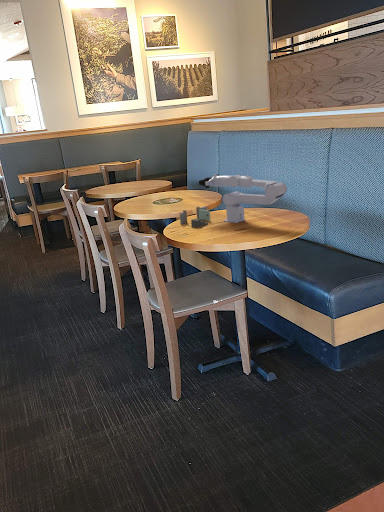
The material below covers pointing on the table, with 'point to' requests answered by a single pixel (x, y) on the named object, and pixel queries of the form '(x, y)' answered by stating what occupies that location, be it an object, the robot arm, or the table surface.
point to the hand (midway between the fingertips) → (203, 181)
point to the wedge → (198, 223)
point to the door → (204, 214)
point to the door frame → (184, 214)
